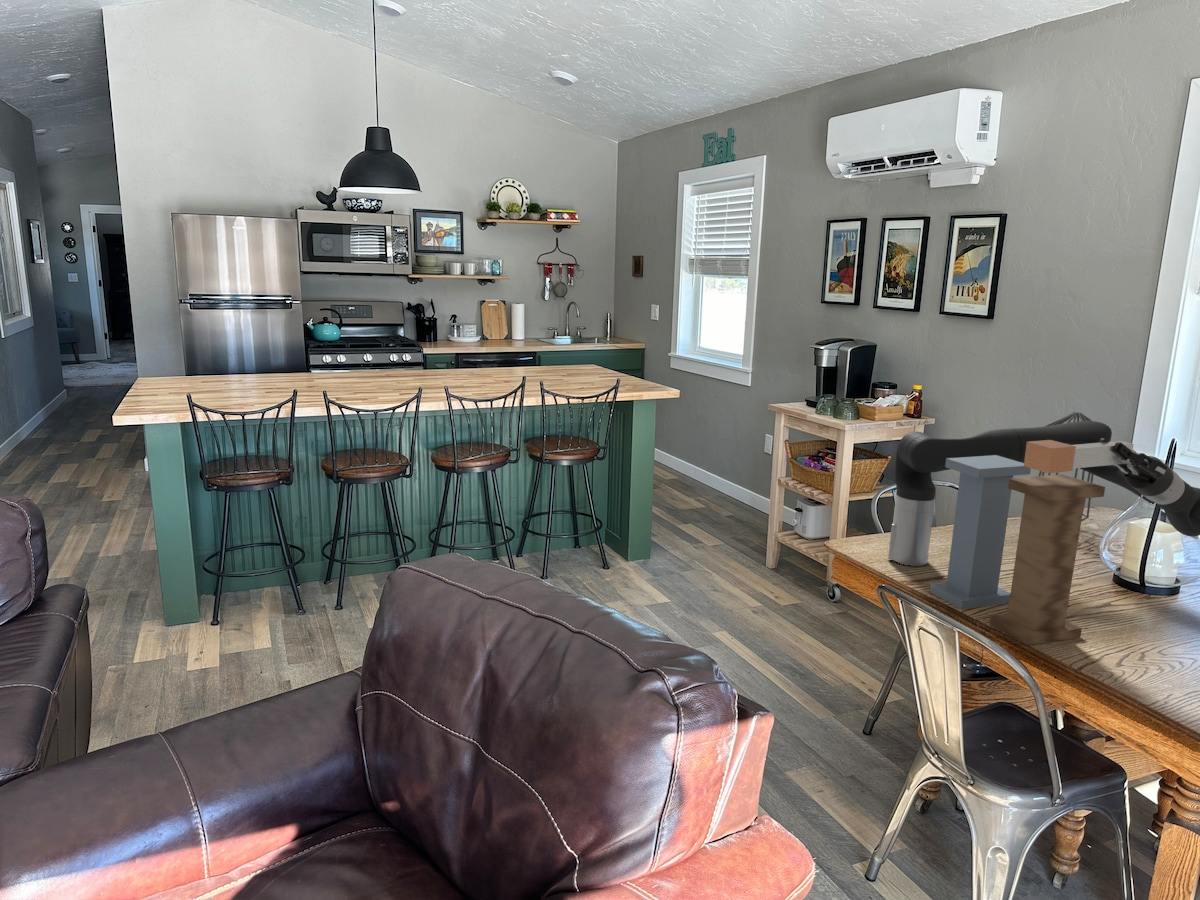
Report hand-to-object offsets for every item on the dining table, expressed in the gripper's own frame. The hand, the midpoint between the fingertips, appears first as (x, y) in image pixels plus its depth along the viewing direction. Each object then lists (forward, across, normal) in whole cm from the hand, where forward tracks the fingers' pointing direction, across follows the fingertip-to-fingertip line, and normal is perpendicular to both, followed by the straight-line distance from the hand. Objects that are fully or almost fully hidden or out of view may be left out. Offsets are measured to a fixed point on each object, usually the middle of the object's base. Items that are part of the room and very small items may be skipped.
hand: (1107, 444), depth 164 cm
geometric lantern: (-64, +52, -9) cm, 83 cm away
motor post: (-9, +18, -40) cm, 45 cm away
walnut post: (-9, 0, -40) cm, 41 cm away
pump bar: (+4, 0, -7) cm, 8 cm away
